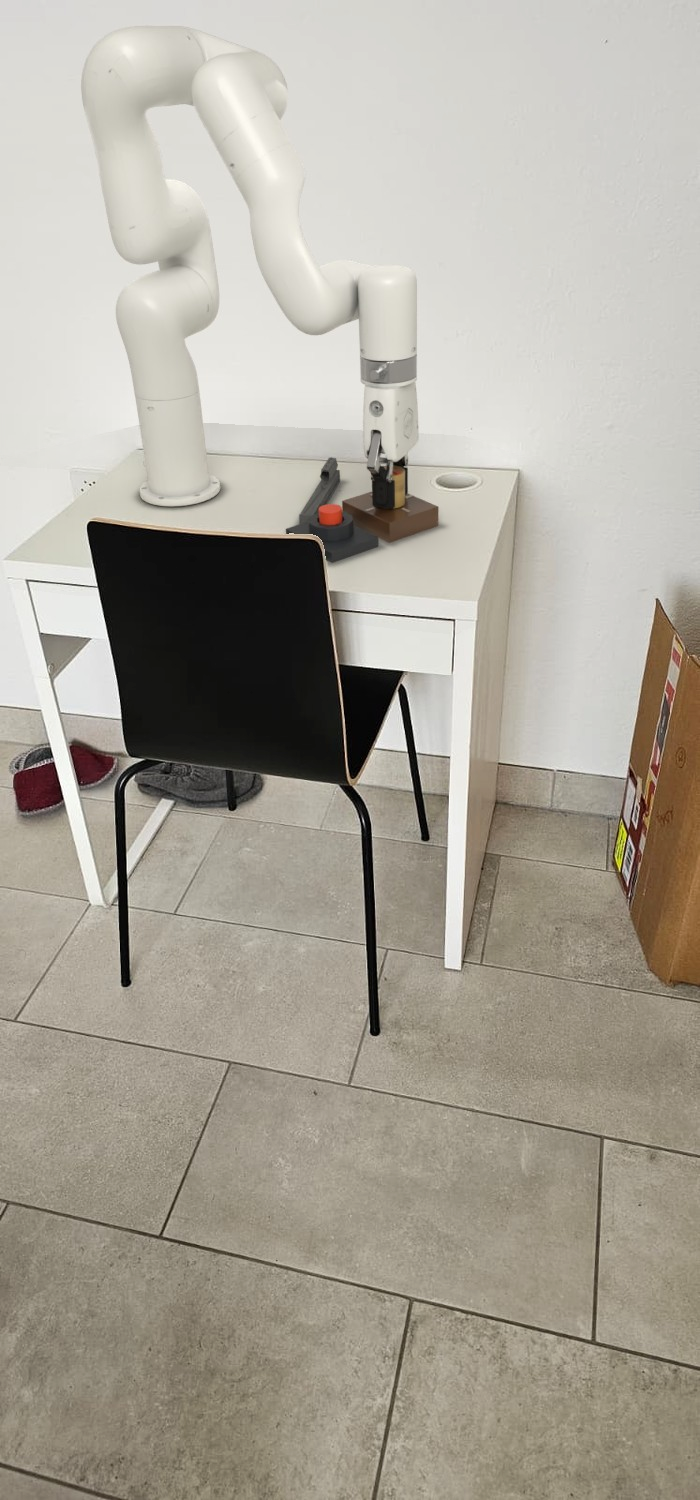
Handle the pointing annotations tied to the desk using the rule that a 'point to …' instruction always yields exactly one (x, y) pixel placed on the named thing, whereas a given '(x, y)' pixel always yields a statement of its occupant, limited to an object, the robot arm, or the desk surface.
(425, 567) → the desk surface
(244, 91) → the robot arm
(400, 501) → the dimmer knob
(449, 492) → the desk surface
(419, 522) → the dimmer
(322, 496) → the dark grey long bar
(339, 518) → the power button
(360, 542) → the switch box
